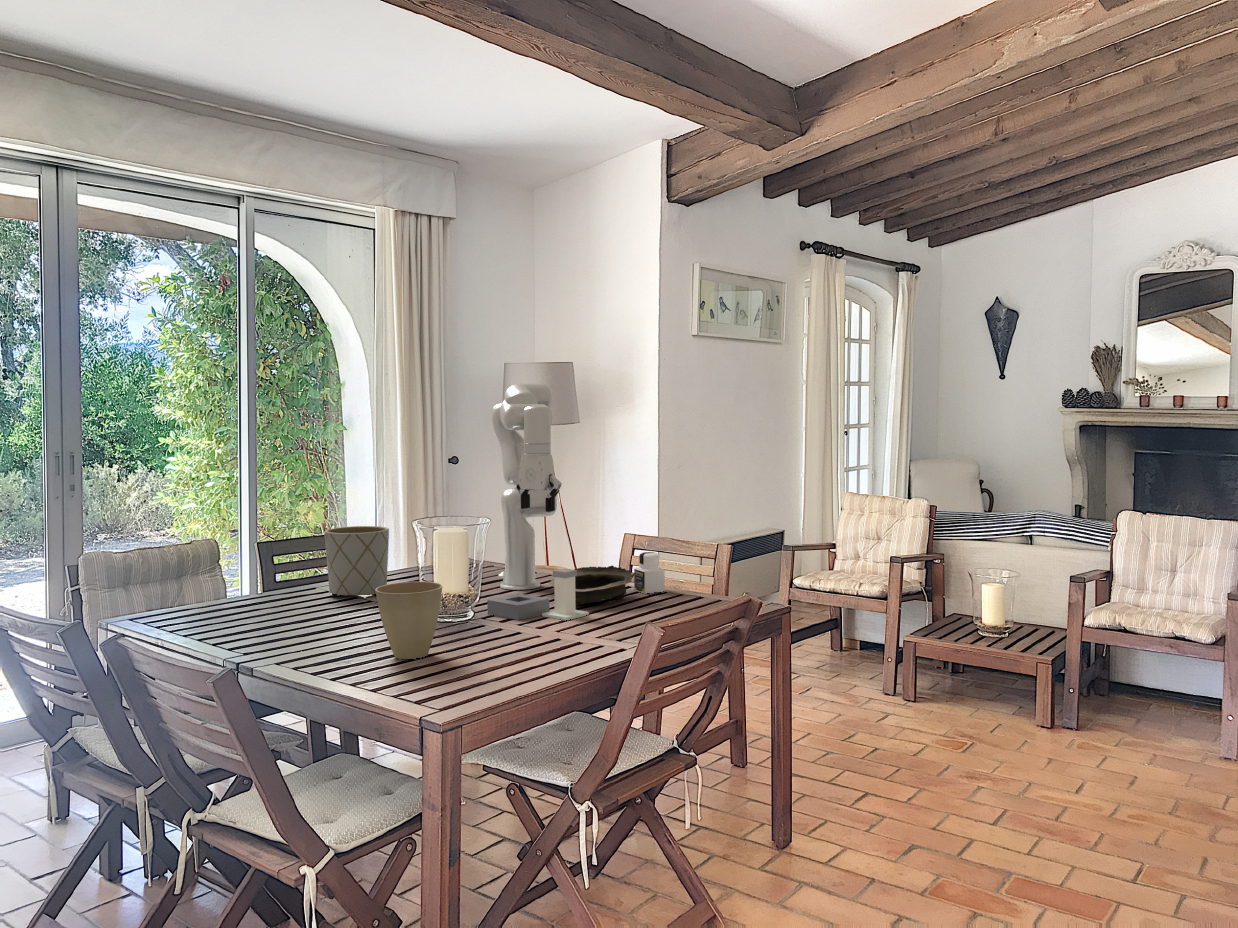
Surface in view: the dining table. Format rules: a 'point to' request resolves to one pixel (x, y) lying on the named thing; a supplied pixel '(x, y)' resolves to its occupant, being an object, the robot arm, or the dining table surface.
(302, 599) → the dining table surface
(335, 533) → the planter
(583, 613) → the coaster
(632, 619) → the dining table surface
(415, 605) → the plant pot
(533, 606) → the grey square ring
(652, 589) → the medicine bottle
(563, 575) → the plug
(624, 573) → the stone bowl
